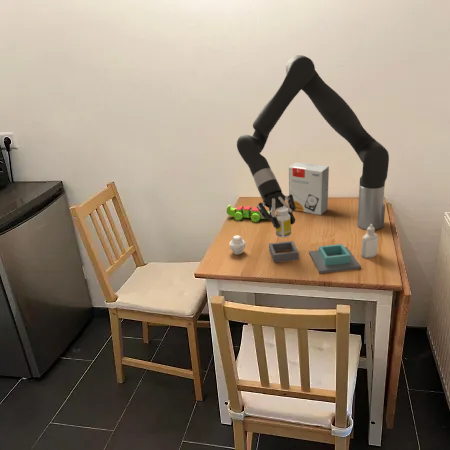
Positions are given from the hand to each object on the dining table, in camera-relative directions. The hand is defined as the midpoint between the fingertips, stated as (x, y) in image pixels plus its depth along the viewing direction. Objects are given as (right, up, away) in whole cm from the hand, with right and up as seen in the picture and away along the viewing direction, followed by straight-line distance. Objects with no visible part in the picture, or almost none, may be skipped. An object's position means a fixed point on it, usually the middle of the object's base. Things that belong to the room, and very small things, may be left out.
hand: (285, 225), depth 155 cm
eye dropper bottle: (+30, -11, +2) cm, 31 cm away
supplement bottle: (0, -3, +3) cm, 5 cm away
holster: (0, -11, +7) cm, 13 cm away
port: (+17, -12, 0) cm, 21 cm away
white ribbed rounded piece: (-16, -10, +11) cm, 22 cm away
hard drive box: (+16, +7, +42) cm, 45 cm away
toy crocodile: (-11, +3, +39) cm, 40 cm away
